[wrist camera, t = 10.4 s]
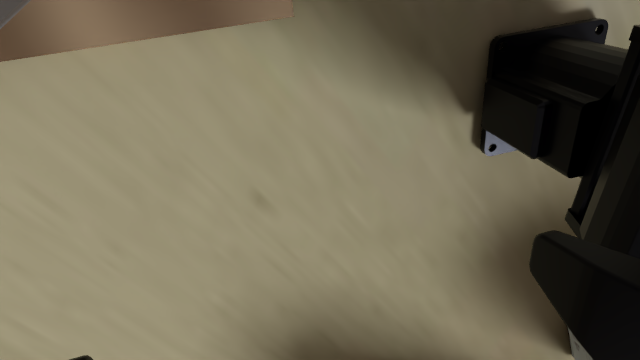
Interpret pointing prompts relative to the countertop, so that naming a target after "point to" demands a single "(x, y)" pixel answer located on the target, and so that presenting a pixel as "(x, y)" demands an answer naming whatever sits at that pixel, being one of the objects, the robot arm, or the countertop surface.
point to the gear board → (118, 21)
